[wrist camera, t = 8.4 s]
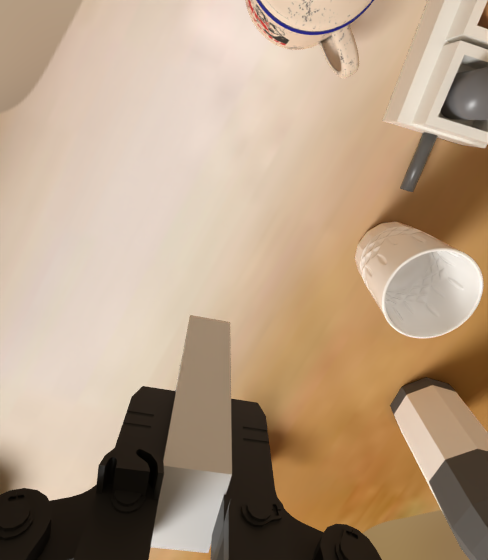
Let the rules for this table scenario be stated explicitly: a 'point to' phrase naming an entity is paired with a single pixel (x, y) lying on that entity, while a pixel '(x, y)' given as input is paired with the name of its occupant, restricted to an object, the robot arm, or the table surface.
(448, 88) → the traffic light
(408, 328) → the white cup
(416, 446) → the wine bottle
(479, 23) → the brown egg
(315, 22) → the teacup with lid
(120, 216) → the table surface
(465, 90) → the dark grey egg
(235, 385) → the table surface
